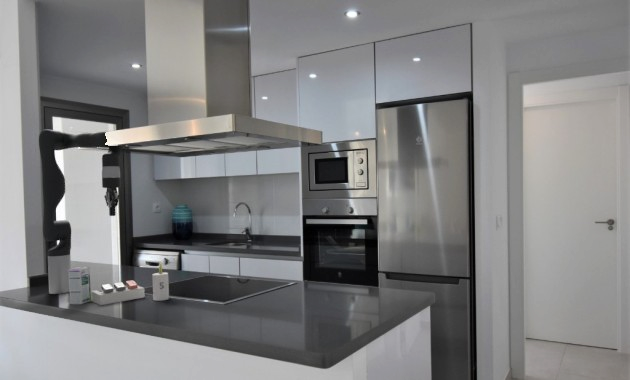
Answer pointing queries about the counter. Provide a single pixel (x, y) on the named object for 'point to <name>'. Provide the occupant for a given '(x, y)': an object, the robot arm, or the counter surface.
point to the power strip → (117, 295)
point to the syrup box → (79, 285)
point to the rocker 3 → (131, 284)
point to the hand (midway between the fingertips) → (112, 215)
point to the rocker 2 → (119, 286)
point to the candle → (160, 285)
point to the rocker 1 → (107, 288)
